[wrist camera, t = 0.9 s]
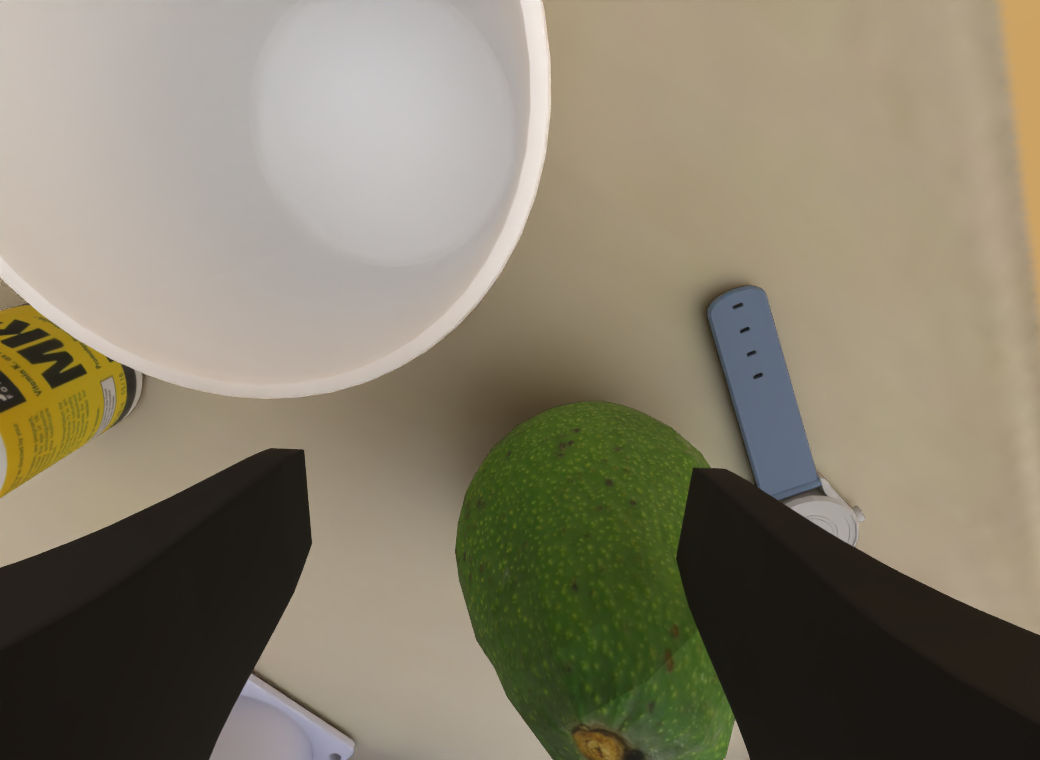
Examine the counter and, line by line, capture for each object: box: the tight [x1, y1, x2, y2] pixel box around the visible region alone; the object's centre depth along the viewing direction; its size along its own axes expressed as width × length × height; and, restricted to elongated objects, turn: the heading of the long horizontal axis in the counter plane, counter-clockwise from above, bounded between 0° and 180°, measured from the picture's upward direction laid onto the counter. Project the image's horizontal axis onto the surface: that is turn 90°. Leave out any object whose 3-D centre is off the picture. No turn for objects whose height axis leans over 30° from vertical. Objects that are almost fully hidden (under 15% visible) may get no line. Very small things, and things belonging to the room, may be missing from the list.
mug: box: [0, 0, 551, 399], centre depth 12 cm, size 9×12×11 cm
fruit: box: [455, 401, 735, 760], centre depth 16 cm, size 8×8×12 cm
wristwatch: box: [707, 285, 865, 547], centre depth 22 cm, size 4×20×1 cm, turn 23°
